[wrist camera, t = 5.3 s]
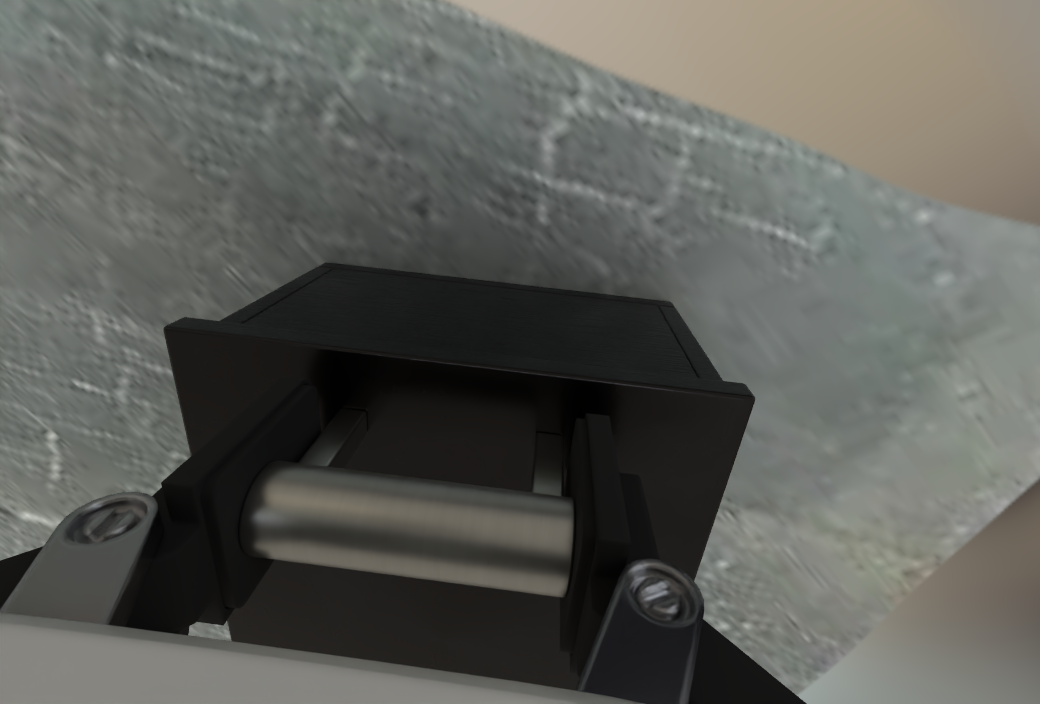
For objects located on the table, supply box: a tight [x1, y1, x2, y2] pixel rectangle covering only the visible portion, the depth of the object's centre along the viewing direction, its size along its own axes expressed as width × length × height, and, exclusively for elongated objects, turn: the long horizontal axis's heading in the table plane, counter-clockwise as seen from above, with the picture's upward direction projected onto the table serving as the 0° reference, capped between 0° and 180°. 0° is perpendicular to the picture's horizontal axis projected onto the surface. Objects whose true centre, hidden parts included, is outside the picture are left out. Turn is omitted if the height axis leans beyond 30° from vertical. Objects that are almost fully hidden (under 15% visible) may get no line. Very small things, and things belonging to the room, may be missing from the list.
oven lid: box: [164, 317, 755, 691], centre depth 14 cm, size 20×14×5 cm
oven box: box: [220, 263, 723, 381], centre depth 20 cm, size 19×14×8 cm
